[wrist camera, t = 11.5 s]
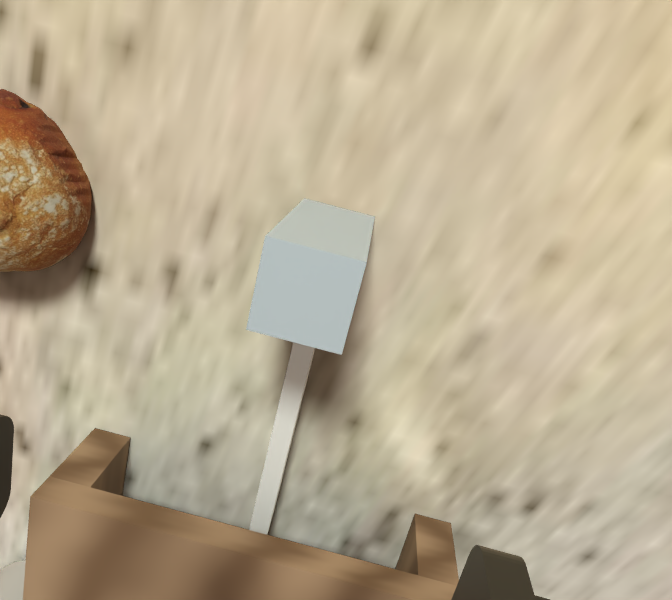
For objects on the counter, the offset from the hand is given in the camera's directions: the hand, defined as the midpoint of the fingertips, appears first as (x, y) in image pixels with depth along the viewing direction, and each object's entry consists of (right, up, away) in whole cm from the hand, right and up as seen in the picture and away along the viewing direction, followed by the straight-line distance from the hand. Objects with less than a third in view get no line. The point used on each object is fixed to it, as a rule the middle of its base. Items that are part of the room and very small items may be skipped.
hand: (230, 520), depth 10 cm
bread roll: (-17, +11, +23) cm, 31 cm away
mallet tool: (-1, -1, +25) cm, 25 cm away
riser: (-4, -12, +29) cm, 32 cm away
